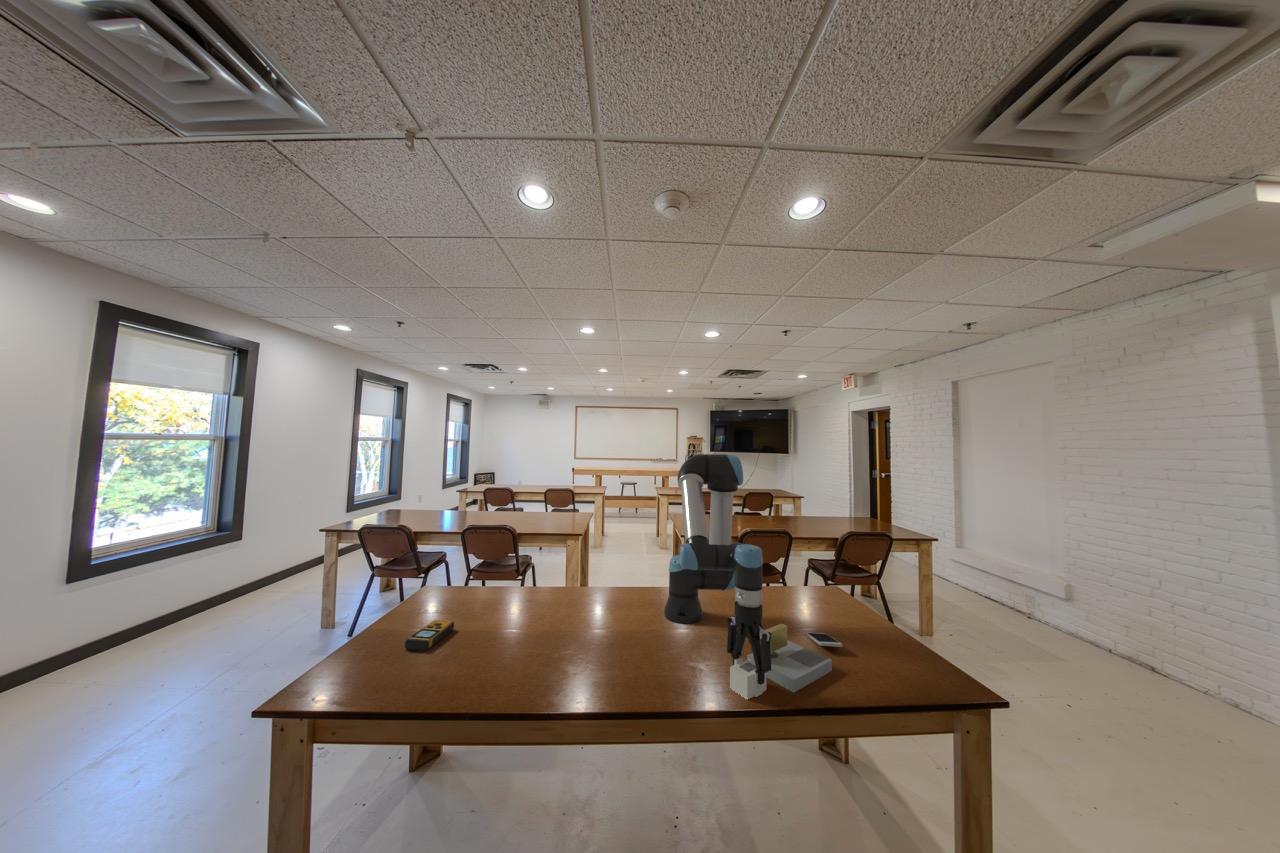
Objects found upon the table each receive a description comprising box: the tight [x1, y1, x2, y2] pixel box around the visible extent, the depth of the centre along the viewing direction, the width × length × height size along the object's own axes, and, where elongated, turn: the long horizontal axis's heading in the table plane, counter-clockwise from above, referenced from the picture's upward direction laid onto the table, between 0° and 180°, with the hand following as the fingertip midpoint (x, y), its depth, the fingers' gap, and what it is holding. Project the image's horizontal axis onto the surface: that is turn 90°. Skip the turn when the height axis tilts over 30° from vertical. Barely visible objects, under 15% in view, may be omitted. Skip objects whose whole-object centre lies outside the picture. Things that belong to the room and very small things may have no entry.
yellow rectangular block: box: [760, 623, 788, 655], centre depth 122 cm, size 13×2×7 cm, turn 125°
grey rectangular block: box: [729, 658, 767, 701], centre depth 109 cm, size 6×8×6 cm
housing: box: [746, 639, 833, 693], centre depth 120 cm, size 16×20×4 cm
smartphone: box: [805, 631, 843, 648], centre depth 137 cm, size 7×15×1 cm, turn 175°
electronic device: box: [404, 619, 455, 652], centre depth 134 cm, size 8×16×3 cm, turn 175°
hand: (748, 688), depth 109 cm, fingers closed on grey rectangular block, 6 cm apart
